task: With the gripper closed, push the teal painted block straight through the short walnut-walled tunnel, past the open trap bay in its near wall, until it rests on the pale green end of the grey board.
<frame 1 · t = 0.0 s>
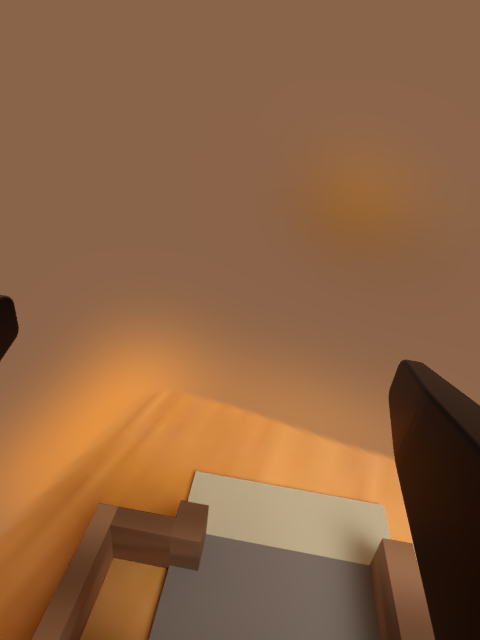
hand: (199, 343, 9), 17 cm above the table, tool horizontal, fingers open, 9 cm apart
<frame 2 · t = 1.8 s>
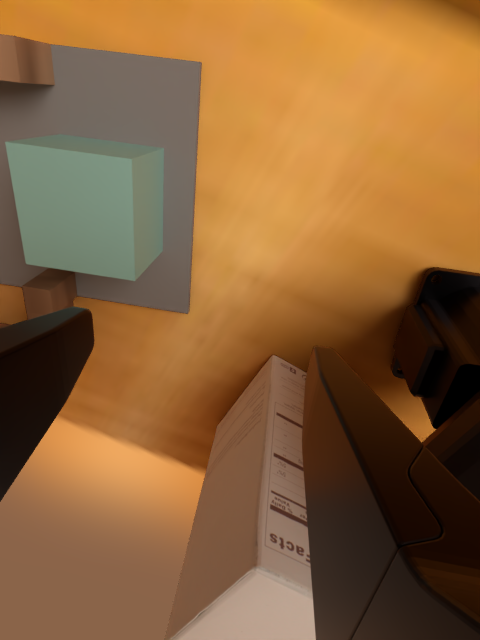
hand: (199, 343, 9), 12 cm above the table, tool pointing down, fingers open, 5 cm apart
grey board: (3, 178, 20), on the table
supplement box: (291, 414, 26), on the table
block: (114, 195, 20), resting on grey board
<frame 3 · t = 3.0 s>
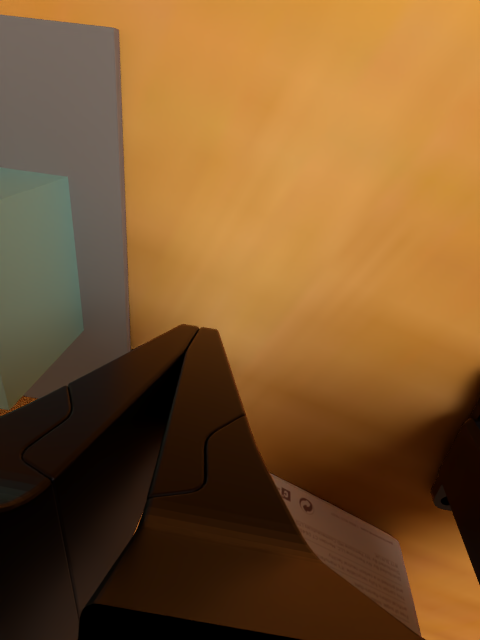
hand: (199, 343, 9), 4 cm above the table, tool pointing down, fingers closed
supplement box: (285, 536, 18), on the table
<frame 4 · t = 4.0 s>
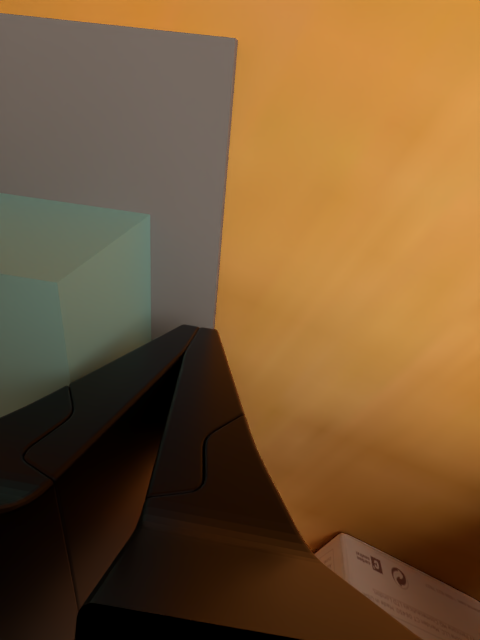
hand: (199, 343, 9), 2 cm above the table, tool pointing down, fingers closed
supplement box: (361, 600, 16), on the table
block: (60, 294, 11), resting on grey board, touching gripper
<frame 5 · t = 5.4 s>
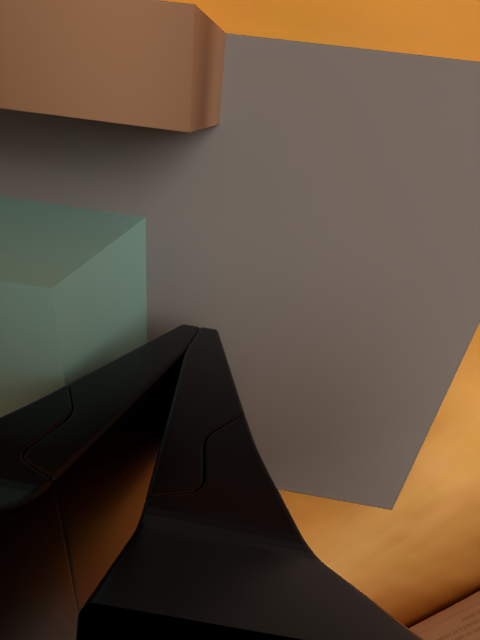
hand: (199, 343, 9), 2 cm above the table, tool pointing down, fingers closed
grey board: (80, 292, 11), on the table
tunnel: (45, 286, 11), on the table
block: (55, 297, 11), resting on grey board, touching gripper
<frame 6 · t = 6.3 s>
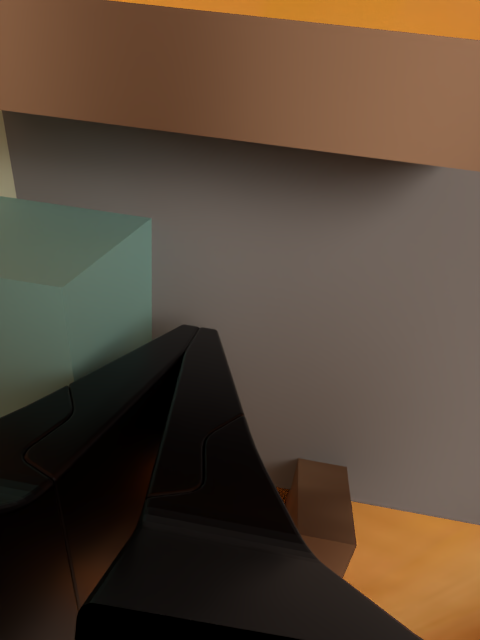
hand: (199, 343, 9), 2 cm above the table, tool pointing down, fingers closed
grey board: (253, 318, 11), on the table
tunnel: (216, 312, 11), on the table
block: (61, 297, 11), resting on grey board, touching gripper
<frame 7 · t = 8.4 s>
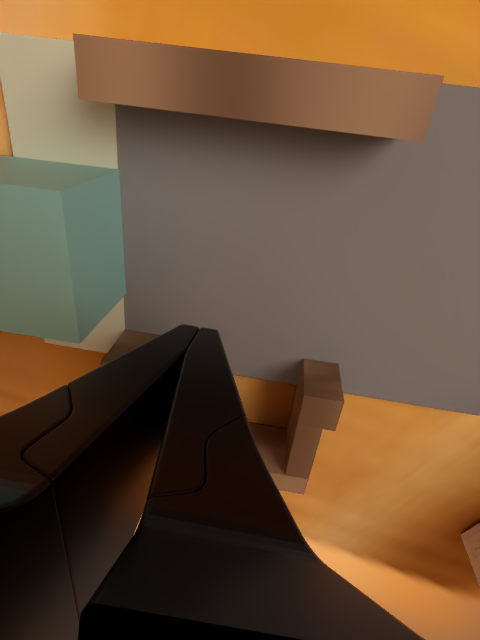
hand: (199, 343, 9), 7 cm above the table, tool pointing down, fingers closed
grey board: (273, 250, 15), on the table
tunnel: (248, 246, 15), on the table
block: (62, 228, 16), resting on grey board
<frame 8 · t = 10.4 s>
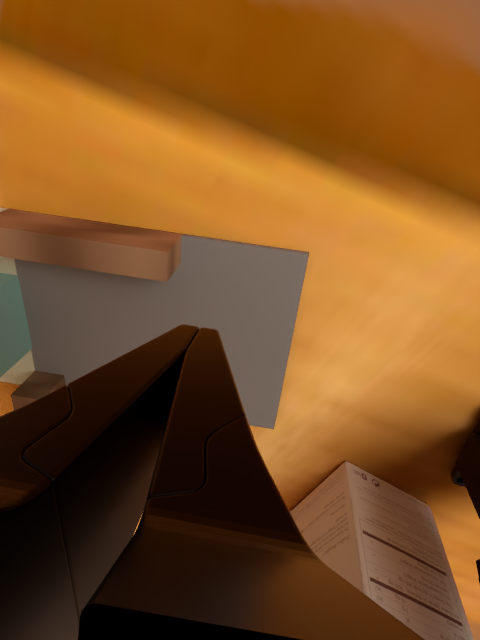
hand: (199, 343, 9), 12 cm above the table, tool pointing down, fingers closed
grey board: (122, 323, 24), on the table
tunnel: (106, 320, 24), on the table
supplement box: (356, 505, 29), on the table
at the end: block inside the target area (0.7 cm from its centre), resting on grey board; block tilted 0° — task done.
